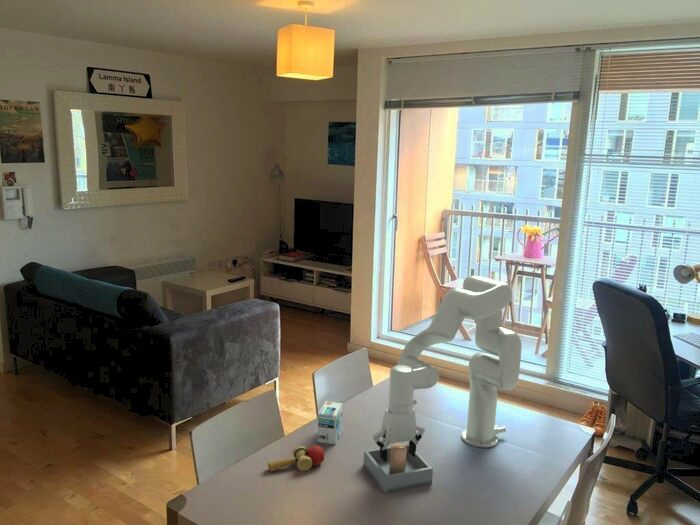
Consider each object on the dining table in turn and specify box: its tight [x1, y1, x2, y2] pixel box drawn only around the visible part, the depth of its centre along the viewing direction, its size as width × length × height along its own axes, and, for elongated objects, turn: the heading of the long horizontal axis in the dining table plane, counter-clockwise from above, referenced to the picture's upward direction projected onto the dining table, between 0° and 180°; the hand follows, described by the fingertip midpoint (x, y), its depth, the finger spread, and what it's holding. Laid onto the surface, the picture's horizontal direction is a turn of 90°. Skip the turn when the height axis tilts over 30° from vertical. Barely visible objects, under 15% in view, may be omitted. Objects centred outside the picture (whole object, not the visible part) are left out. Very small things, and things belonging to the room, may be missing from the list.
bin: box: [363, 442, 434, 494], centre depth 177 cm, size 16×16×5 cm
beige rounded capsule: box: [389, 442, 407, 474], centre depth 177 cm, size 5×5×8 cm
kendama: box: [267, 445, 325, 473], centre depth 179 cm, size 8×6×18 cm
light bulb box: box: [317, 400, 344, 445], centre depth 199 cm, size 11×7×11 cm, turn 168°
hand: (397, 457), depth 177 cm, fingers open, 9 cm apart
